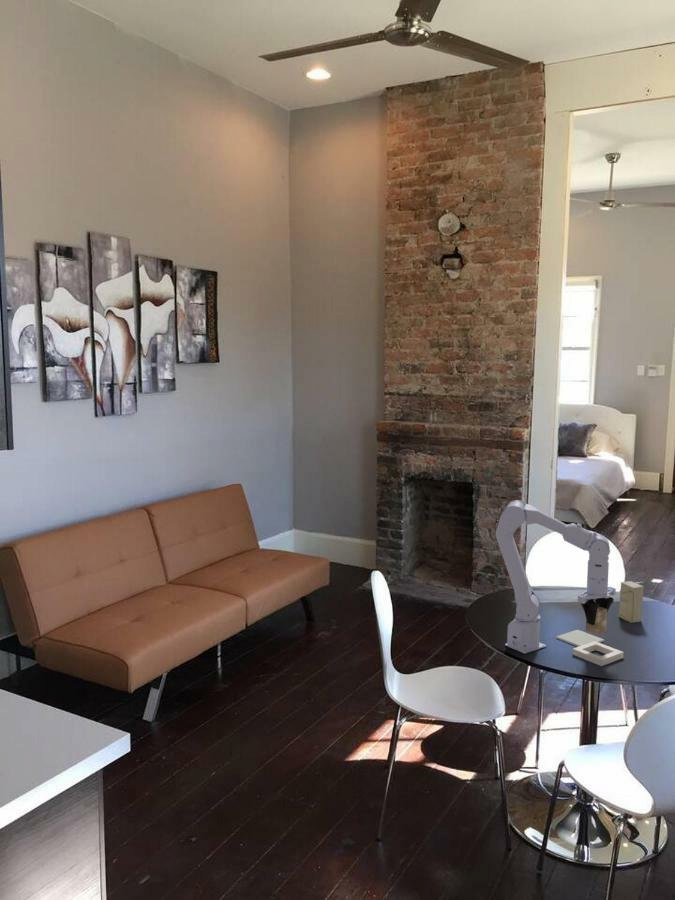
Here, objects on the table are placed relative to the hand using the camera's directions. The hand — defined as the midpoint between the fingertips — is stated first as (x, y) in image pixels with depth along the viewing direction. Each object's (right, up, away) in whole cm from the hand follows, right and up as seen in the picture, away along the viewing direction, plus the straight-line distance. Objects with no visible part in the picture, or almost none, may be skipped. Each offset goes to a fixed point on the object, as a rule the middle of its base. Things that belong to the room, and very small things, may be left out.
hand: (595, 622), depth 216 cm
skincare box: (+21, -6, +29) cm, 36 cm away
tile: (-1, -8, +12) cm, 14 cm away
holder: (0, -10, -1) cm, 10 cm away
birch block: (0, -3, 0) cm, 3 cm away
